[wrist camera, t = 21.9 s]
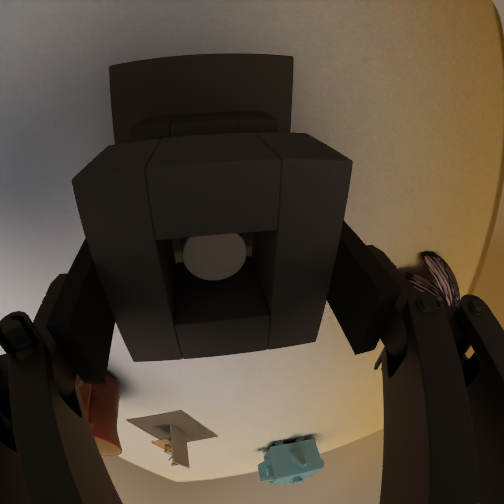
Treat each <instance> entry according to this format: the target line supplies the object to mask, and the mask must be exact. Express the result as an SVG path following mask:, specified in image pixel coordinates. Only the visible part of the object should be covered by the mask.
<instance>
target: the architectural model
mask: <svg viewBox="0 0 504 504" xmlns="http://www.w3.org/2000/svg"><path fill="white" fill-rule="evenodd" d="M127 421H128V422H130V423H132V424H133V425H135V426H137V427H138V428H140V429H142V430H143V431H145V432H147V433H149V434H151V435H152V436H154V437H156V438H158V439H160V440H157V441H152V443H153V444H155V445H157V446H159V447H161V448H163V449H164V452H166V451H169V452H171V453H172V454H171V455H172V457H171V458H172V459H173V463H172V464H171V466H172V465H182V466H184V467H187V468H189V459H188V450H187V442H190V441H196V440H202V439H207V438H212V437H217V435H216V434H214V433H213V432H211V431H210V430H208V429H207V428H205V427H204V426H202V425H201V424H200V423H198V422H197V421H195V420H194V419H193V418H191V417H190V416H188V415H187V414H186V413H184V412H183V411H182V410H180V411H175V412H170V413H165V414H160V415H154V416H148V417H142V418H136V419H129V420H127ZM167 444H169V445H171V446H172V447H171V446H169V445H167ZM166 453H167V452H166ZM168 454H169V453H168ZM171 458H170V459H171ZM170 459H169V460H170Z"/></svg>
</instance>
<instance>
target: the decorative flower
mask: <svg viewBox="0 0 504 504" xmlns="http://www.w3.org/2000/svg"><path fill="white" fill-rule="evenodd" d="M422 257H423V260H424V261H425V263H426V265H427V266H428V268H429V270H430V272H431V273H432V275H433V276H434V278H435V280H436V282H437V285H438V287H437V286H436V285H435V284H433V283H432V282H431V281H429V280H427V279H426V278H423V277H421V276H419V275H416V274H413V273H409V272H405V273H406V276H405V278H406V279H407V280H408V281H409V283H410V284H411V285H412V286H413V287H414V289H415V290H416V291H423V292H427V293H430V294H431V295H433V296H435V297H436V298H437V299H438V300H439V301H440V302H441V303H442V305H449V306H457V305H458V303H459V302H460V293H459V287H458V284H457V281H456V278H455V276H454V274H453V272H452V270H451V269H450V267H449V266H448V264H447V263H446V262H445V261H444V260H443V259H442V258H441V257H440V256H437V255H436V254H435V253H434V252H427V251H425V252H423V253H422Z"/></svg>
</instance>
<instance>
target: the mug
mask: <svg viewBox="0 0 504 504" xmlns="http://www.w3.org/2000/svg"><path fill="white" fill-rule="evenodd" d="M75 385H76V386H77V387H78V389H79V391H80V393H81V397H82V401H83V404H84V408H85V411H86V414H87V418H88V421H89V424H90V427H91V430H92V433H93V436H94V438H95V441H96V444H97V447H98V449H99V452H100V454H101V456H115V455H119V454H121V453H122V448H121V445H120V441H119V438H118V433H117V417H118V407H119V399H120V397H119V389H118V383H117V382H116V380H115V379H114V378H113V377H112V376H111V375H109V374H108V373H106V380H105V384H84V383H83V381H82V380H81V379H80V377H79V376H78V375H77V377H76V382H75Z"/></svg>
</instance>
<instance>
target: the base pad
mask: <svg viewBox="0 0 504 504" xmlns="http://www.w3.org/2000/svg"><path fill="white" fill-rule="evenodd" d="M109 74H110V94H111V108H112V119H113V130H114V139H115V145H116V144H122V143H129V142H131V141H130V129H131V128H132V127H133V126H135V125H136V124H137V123H138V122H140V121H141V120H142V119H147V118H155V117H163V116H175V115H184V114H196V113H213V112H230V113H231V112H241V111H263V112H265V113H267V114H269V115H271V116H273V117H275V118H277V119H279V133H290V126H291V106H292V83H293V56H283V55H268V54H198V55H183V56H172V57H163V58H154V59H147V60H140V61H134V62H128V63H122V64H117V65H112V66H110V67H109ZM174 254H175V261H176V263H178V262H184V264H185V266H186V268H187V269H188V270H189V271H190V272H191V273H192V274H193V275H195V276H197V277H199V278H201V279H205V280H221V279H225V278H228V277H230V276H232V275H233V274H235V273H236V272H237V271H238V270H239V269H240V268H241V267H242V266H243V264H244V262H245V259H246V256H251V257H252V246H250V247H246V244H245V241H244V238H243V234H242V233H232V234H220V235H208V236H197V237H185V238H183V248H182V252H181V253H174Z"/></svg>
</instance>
